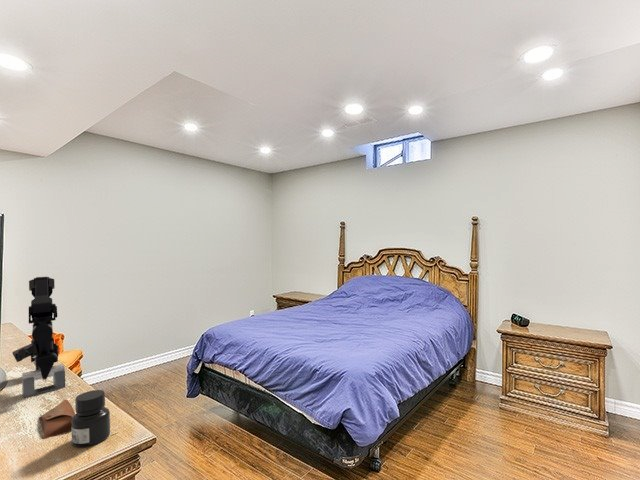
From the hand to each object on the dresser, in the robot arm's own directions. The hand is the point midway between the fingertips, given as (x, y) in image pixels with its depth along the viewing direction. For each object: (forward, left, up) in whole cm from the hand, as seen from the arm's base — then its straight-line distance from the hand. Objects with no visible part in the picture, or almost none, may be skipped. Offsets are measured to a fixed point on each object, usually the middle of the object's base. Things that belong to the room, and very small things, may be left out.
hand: (44, 378), depth 129 cm
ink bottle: (+51, +4, -5) cm, 51 cm away
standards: (0, 0, -5) cm, 5 cm away
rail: (0, 0, 0) cm, 0 cm away
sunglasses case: (+33, -1, -5) cm, 33 cm away
